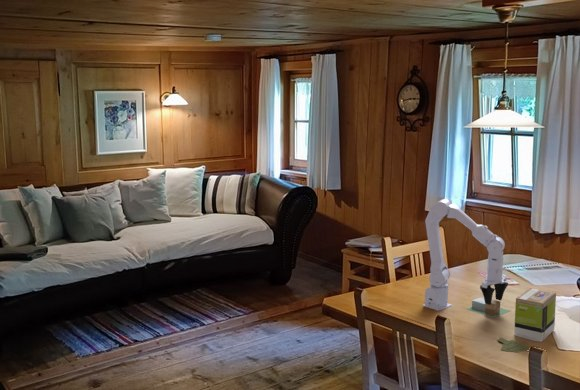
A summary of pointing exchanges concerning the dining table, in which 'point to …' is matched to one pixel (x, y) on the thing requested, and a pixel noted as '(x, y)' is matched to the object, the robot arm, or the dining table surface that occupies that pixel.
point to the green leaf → (513, 345)
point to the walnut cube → (493, 308)
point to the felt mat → (502, 311)
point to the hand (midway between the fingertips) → (493, 301)
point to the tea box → (535, 314)
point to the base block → (479, 304)
